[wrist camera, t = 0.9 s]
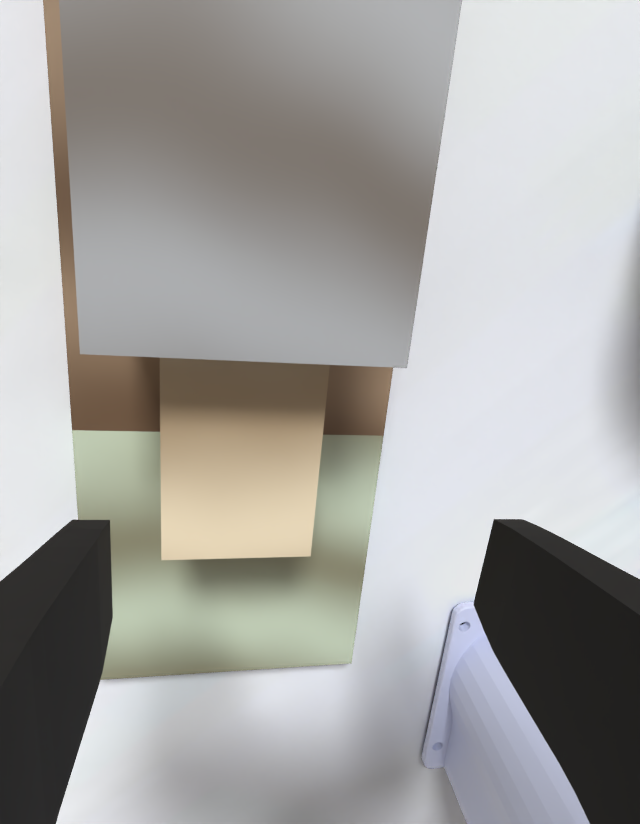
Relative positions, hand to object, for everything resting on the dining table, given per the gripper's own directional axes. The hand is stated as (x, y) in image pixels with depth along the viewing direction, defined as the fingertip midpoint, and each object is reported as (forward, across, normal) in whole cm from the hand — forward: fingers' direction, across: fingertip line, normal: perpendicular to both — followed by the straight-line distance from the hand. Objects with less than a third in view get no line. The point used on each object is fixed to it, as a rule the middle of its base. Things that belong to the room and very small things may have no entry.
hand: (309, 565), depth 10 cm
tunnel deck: (+9, +1, -5) cm, 11 cm away
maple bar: (+8, +1, -2) cm, 8 cm away
